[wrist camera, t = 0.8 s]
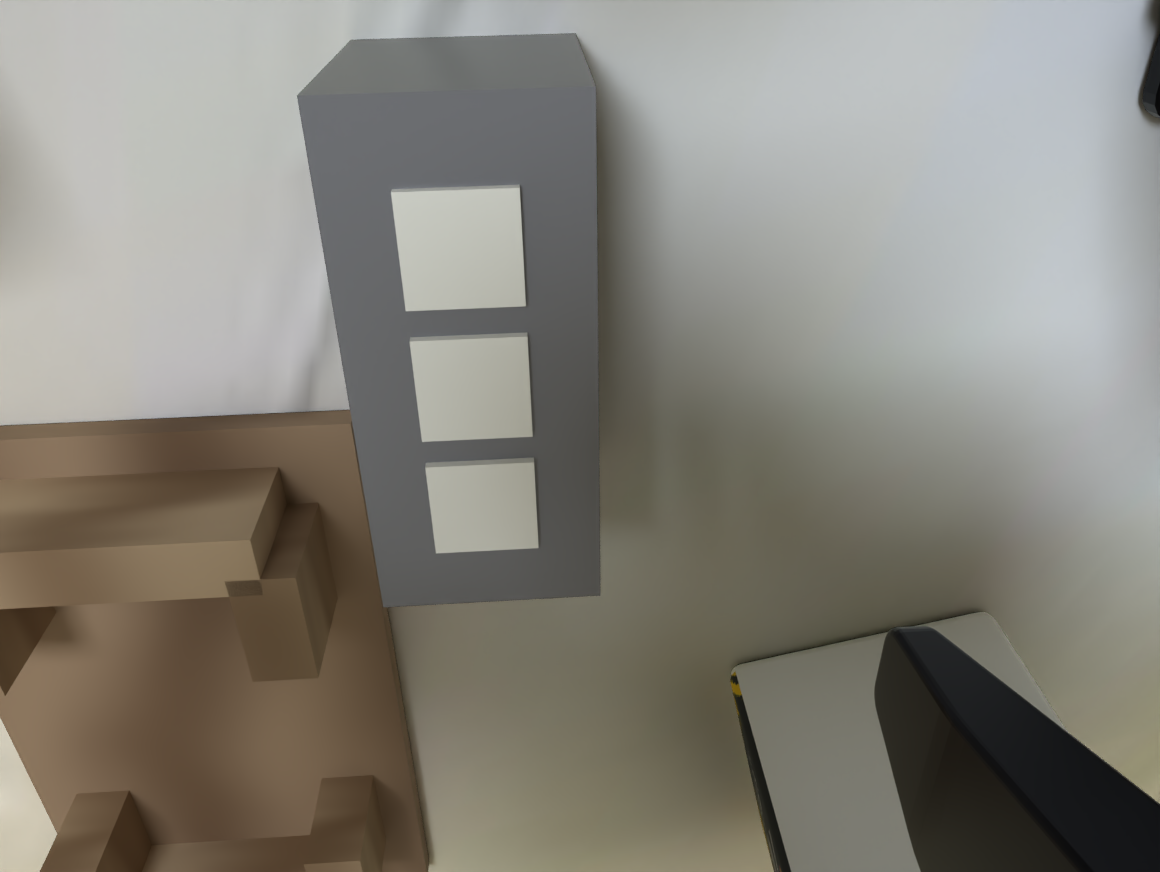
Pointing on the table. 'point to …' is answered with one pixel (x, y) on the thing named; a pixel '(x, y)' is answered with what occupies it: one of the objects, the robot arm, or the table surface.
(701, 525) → the table surface
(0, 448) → the cradle board
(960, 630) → the medicine bottle
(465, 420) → the power strip
